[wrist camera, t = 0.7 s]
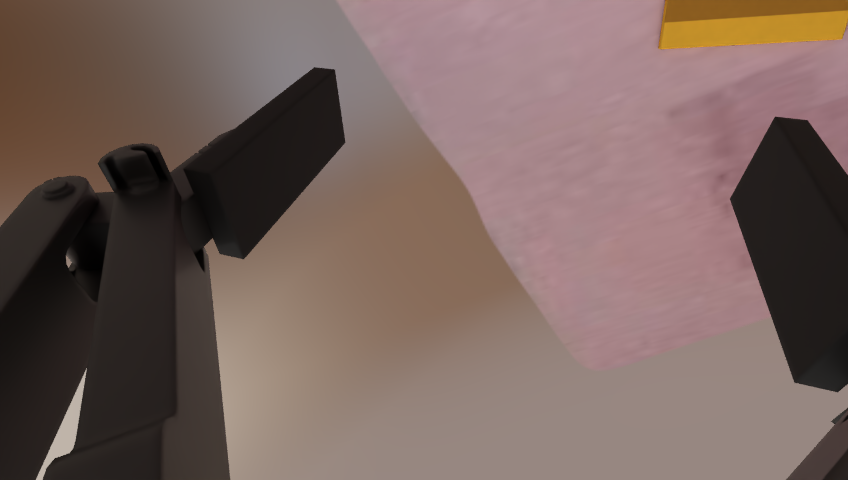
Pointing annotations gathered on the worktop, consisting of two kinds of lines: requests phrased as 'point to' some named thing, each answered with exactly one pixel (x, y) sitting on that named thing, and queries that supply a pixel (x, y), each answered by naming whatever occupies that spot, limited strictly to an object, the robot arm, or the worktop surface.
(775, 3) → the towel
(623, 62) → the worktop surface
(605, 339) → the worktop surface
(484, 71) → the worktop surface
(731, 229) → the worktop surface
